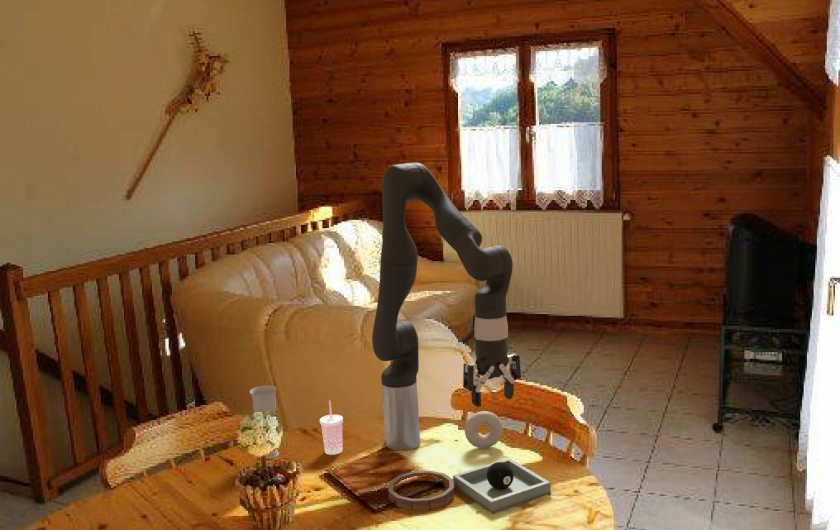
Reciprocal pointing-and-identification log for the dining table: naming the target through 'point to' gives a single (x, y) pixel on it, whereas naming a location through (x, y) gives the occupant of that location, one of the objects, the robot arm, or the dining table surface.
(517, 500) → the tray
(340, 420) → the beverage cup
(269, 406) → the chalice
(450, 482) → the walnut ring
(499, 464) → the billiard ball
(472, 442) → the donut
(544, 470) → the dining table surface
